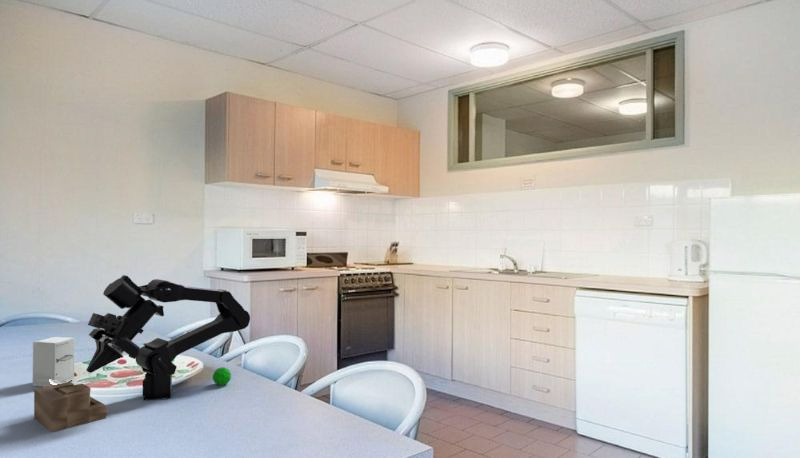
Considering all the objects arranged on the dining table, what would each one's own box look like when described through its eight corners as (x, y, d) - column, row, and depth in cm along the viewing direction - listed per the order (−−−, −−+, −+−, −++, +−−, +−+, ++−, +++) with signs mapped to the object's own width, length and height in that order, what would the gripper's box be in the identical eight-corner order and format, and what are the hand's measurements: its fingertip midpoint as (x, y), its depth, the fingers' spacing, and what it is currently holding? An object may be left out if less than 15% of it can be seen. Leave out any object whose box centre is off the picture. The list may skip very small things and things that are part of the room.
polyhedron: (208, 386, 150) (209, 369, 150) (220, 381, 155) (220, 365, 155) (223, 388, 148) (223, 371, 148) (234, 383, 153) (234, 367, 153)
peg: (82, 411, 129) (82, 383, 129) (90, 416, 126) (90, 387, 126) (58, 417, 125) (58, 388, 125) (66, 423, 122) (66, 393, 122)
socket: (86, 406, 133) (86, 378, 133) (105, 417, 125) (106, 388, 125) (34, 418, 124) (34, 389, 124) (52, 432, 116) (52, 400, 116)
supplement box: (53, 388, 147) (54, 343, 146) (31, 386, 148) (31, 341, 148) (75, 380, 154) (75, 337, 154) (53, 378, 155) (53, 336, 155)
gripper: (96, 297, 138) (48, 347, 130) (125, 303, 125) (74, 359, 117) (128, 322, 144) (84, 371, 136) (159, 331, 131) (112, 386, 123)
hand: (88, 371), depth 128 cm, fingers closed
